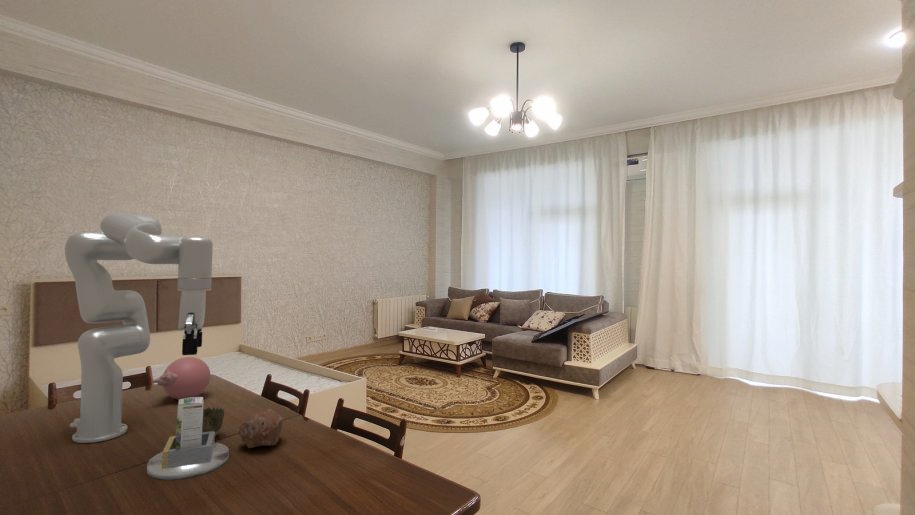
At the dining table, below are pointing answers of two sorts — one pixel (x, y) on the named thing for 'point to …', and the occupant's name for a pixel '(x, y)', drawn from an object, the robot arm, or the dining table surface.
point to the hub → (188, 459)
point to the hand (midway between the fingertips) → (192, 350)
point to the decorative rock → (261, 429)
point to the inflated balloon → (185, 378)
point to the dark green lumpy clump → (212, 419)
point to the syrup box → (189, 422)
